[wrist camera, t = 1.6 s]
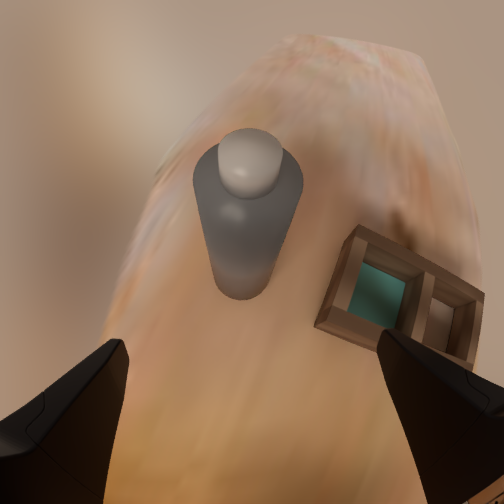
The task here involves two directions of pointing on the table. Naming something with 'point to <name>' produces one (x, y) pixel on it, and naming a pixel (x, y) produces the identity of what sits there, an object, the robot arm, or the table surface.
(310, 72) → the table surface
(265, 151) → the slate plug
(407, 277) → the box
